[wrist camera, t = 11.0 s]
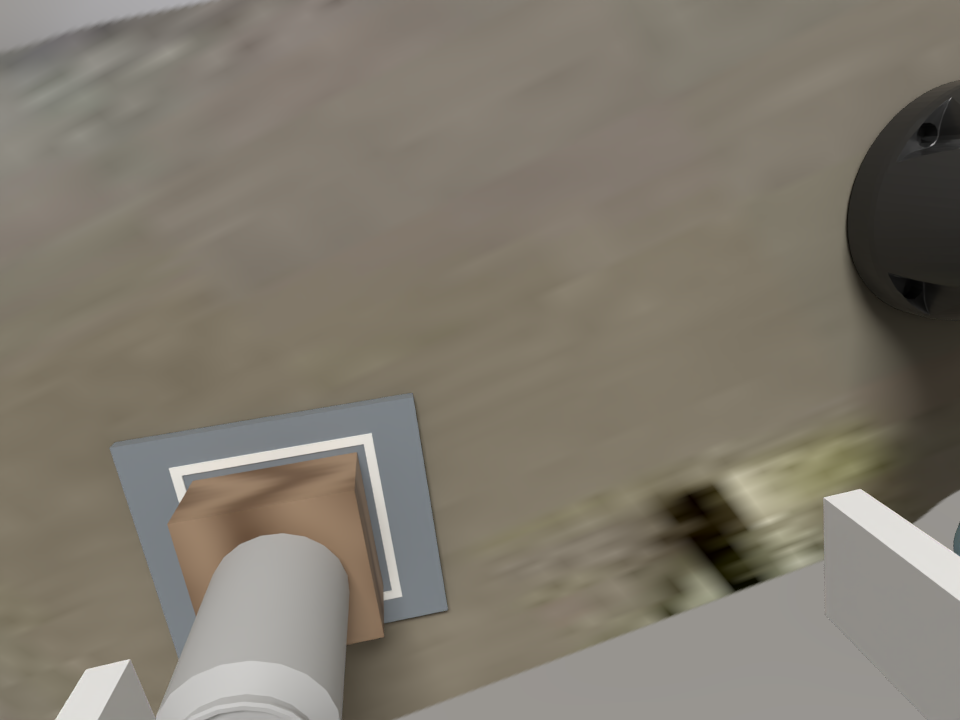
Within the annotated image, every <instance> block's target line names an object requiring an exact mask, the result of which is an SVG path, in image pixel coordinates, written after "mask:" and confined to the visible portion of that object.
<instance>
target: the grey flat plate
mask: <svg viewBox="0 0 960 720" xmlns="http://www.w3.org/2000/svg"><path fill="white" fill-rule="evenodd" d="M110 451H111V454H112V457H113V460H114V463H115V466H116V469H117V472H118V475H119V478H120V481H121V484H122V487H123V490H124V493H125V496H126V499H127V502H128V505H129V509H130V512H131V515H132V518H133V521H134V524H135V527H136V530H137V533H138V536H139V539H140V542H141V545H142V548H143V551H144V554H145V557H146V560H147V563H148V566H149V570H150V573H151V576H152V579H153V582H154V585H155V588H156V591H157V594H158V597H159V600H160V603H161V606H162V609H163V612H164V615H165V618H166V621H167V624H168V627H169V630H170V634H171V637H172V640H173V643H174V646H175V649H176V652H177V655H178V658H180V656H181V653H182V651H183V648H184V646H185V643H186V641H187V638H188V636H189V633H190V631H191V628H192V626H193V623H194V621H195V618H196V615H195V612H194V609H193V606H192V603H191V599H190V596H189V593H188V590H187V586H186V583H185V580H184V577H183V574H182V570H181V567H180V564H179V561H178V557H177V554H176V551H175V548H174V545H173V541H172V538H171V535H170V532H169V528H168V525H167V524H168V522H169V520H170V519H171V517H172V515H173V514H174V512H175V510H176V508H177V507H178V505H179V503H180V502H181V500H182V498H183V497H184V495H185V493H186V491H187V490H188V488H189V486H190V485H191V483H192V481H195V480H201V479H207V478H212V477H218V476H224V475H229V474H235V473H241V472H246V471H252V470H258V469H263V468H269V467H275V466H281V465H286V464H292V463H298V462H303V461H309V460H315V459H320V458H326V457H332V456H337V455H343V454H349V453H354V452H357V455H358V460H359V465H360V470H361V475H362V480H363V485H364V490H365V495H366V500H367V505H368V510H369V515H370V521H371V526H372V531H373V536H374V541H375V546H376V551H377V556H378V561H379V566H380V571H381V576H382V581H383V594H384V623H388V622H393V621H398V620H402V619H407V618H412V617H417V616H422V615H427V614H432V613H436V612H441V611H446V610H448V608H447V601H446V595H445V589H444V583H443V577H442V571H441V565H440V558H439V552H438V546H437V540H436V534H435V528H434V522H433V516H432V509H431V503H430V497H429V491H428V485H427V479H426V473H425V466H424V460H423V454H422V448H421V442H420V436H419V430H418V423H417V417H416V411H415V405H414V399H413V393H408V394H402V395H396V396H390V397H384V398H378V399H372V400H366V401H360V402H354V403H348V404H342V405H336V406H330V407H324V408H318V409H312V410H306V411H300V412H294V413H288V414H282V415H276V416H270V417H264V418H258V419H252V420H246V421H240V422H234V423H228V424H222V425H216V426H210V427H204V428H198V429H192V430H186V431H180V432H174V433H168V434H162V435H156V436H150V437H144V438H138V439H132V440H126V441H120V442H115V443H114V444H113V445H112V446H111V447H110Z"/></svg>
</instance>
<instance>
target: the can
mask: <svg viewBox="0 0 960 720" xmlns="http://www.w3.org/2000/svg"><path fill="white" fill-rule="evenodd" d="M349 594H350V592H349V584H348V575H347V573H346V571H345V570H344V568H343V566H342V564H341V562H340V560H339V559H338V558H337V557H336V556H335V555H334V554H333V553H332V552H331V551H330V550H329V549H328V548H326V547H325V546H324V545H322V544H320V543H318V542H316V541H313V540H311V539H309V538H307V537H305V536H298V535H292V534H285V533H280V534H272V535H263V536H259V537H256V538H254V539H251V540H249V541H247V542H244V543H242V544H240V545H238V546H237V547H236V548H235V549H233V550H232V551H231V552H230V553H229V554H227V555H226V556H225V557H224V558H223V559H222V561H221V562H220V564H219V566H218V567H217V569H216V570H215V572H214V574H213V576H212V578H211V581H210V583H209V586H208V588H207V591H206V593H205V596H204V598H203V601H202V603H201V606H200V608H199V611H198V613H197V616H196V618H195V621H194V623H193V626H192V628H191V631H190V633H189V636H188V638H187V641H186V643H185V646H184V648H183V651H182V653H181V656H180V658H179V661H178V663H177V666H176V668H175V671H174V673H173V676H172V678H171V681H170V683H169V686H168V688H167V691H166V693H165V696H164V698H163V701H162V703H161V706H160V708H159V711H158V713H157V716H156V720H342V707H343V691H344V675H345V659H346V643H347V626H348V610H349Z"/></svg>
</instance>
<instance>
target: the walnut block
mask: <svg viewBox="0 0 960 720" xmlns="http://www.w3.org/2000/svg"><path fill="white" fill-rule="evenodd" d="M167 525H168V528H169V532H170V535H171V538H172V541H173V545H174V548H175V551H176V554H177V557H178V561H179V564H180V567H181V570H182V574H183V577H184V580H185V583H186V586H187V590H188V593H189V596H190V599H191V603H192V606H193V609H194V612H195V615H196V616H197V613H198V611H199V608H200V606H201V603H202V601H203V598H204V596H205V593H206V591H207V588H208V586H209V583H210V581H211V578H212V576H213V574H214V572H215V570H216V569H217V567H218V566H219V564H220V562H221V561H222V559H223V558H224V557H225V556H226V555H227V554H229V553H230V552H231V551H232V550H233V549H235V548H236V547H237V546H238V545H240V544H242V543H244V542H247V541H249V540H251V539H254V538H256V537H259V536H263V535H272V534H280V533H285V534H292V535H298V536H305V537H307V538H309V539H311V540H313V541H316V542H318V543H320V544H322V545H324V546H325V547H326V548H328V549H329V550H330V551H331V552H332V553H333V554H334V555H335V556H336V557H337V558H338V559H339V560H340V562H341V564H342V566H343V568H344V570H345V571H346V573H347V575H348V584H349V592H350V594H349V610H348V626H347V643H346V645H349V644H354V643H358V642H363V641H368V640H373V639H377V638H382V637H384V594H383V581H382V576H381V571H380V566H379V561H378V556H377V551H376V546H375V541H374V536H373V531H372V526H371V521H370V515H369V510H368V505H367V500H366V495H365V490H364V485H363V480H362V475H361V470H360V465H359V460H358V455H357V452H354V453H349V454H343V455H337V456H332V457H326V458H320V459H315V460H309V461H303V462H298V463H292V464H286V465H281V466H275V467H269V468H263V469H258V470H252V471H246V472H241V473H235V474H229V475H224V476H218V477H212V478H207V479H201V480H195V481H192V483H191V485H190V486H189V488H188V490H187V491H186V493H185V495H184V497H183V498H182V500H181V502H180V503H179V505H178V507H177V508H176V510H175V512H174V514H173V515H172V517H171V519H170V520H169V522H168V524H167Z"/></svg>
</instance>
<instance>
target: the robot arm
mask: <svg viewBox="0 0 960 720" xmlns="http://www.w3.org/2000/svg"><path fill="white" fill-rule="evenodd" d="M848 237H849V245H850V250H851V254H852V258H853V261H854V263H855V266H856V268H857V271H858V273H859V275H860V276H861V278H862V280H863V281H864V283H865V284H866V285H867V287H868V288H869V289H870V290H871V291H872V292H873V293H874V294H875V295H876V296H877V297H878V298H879V299H881V300H882V301H883V302H885V303H886V304H888V305H890V306H892V307H894V308H896V309H899V310H902V311H905V312H908V313H912V314H916V315H919V316H923V317H927V318H931V319H938V320H949V321H958V320H960V80H958V81H954V82H950V83H947V84H944V85H941V86H939V87H936V88H934V89H932V90H930V91H928V92H926V93H924V94H923V95H921V96H920V97H918V98H916V99H915V100H914V101H912V102H911V103H910V104H908V105H907V106H906V107H905V108H903V109H902V110H901V111H900V112H899V113H898V114H897V115H896V116H895V117H894V118H893V119H892V120H891V121H890V122H889V123H888V124H887V125H886V127H885V128H884V129H883V130H882V132H881V133H880V134H879V136H878V137H877V138H876V140H875V141H874V143H873V144H872V146H871V148H870V149H869V151H868V153H867V155H866V157H865V159H864V161H863V163H862V165H861V167H860V170H859V172H858V175H857V177H856V180H855V183H854V187H853V190H852V195H851V199H850V205H849V213H848ZM953 546H954V552H952V551H951V550H950V549H948V548H946V547H945V546H944V545H942V544H941V543H939V542H938V541H936V540H935V539H934V538H932V537H930V536H929V535H927V534H926V533H925V532H923V531H922V530H920V529H919V528H917V527H916V526H914V525H913V524H911V523H910V522H909V521H907V520H906V519H904V518H903V517H901V516H900V515H898V514H897V513H895V512H894V511H892V510H891V509H889V508H888V507H887V506H885V505H884V504H882V503H881V502H879V501H878V500H876V499H875V498H873V497H872V496H870V495H869V494H867V493H866V492H864V491H863V490H862V489H858V490H854V491H850V492H845V493H841V494H837V495H833V496H828V497H824V575H825V576H824V578H825V615H826V616H827V617H828V618H829V619H830V620H831V622H832V623H834V625H835V626H836V627H837V628H838V629H839V630H840V631H841V632H842V633H843V634H844V635H845V636H846V637H847V638H848V639H849V640H850V641H851V642H852V643H853V644H854V645H855V646H856V647H857V648H858V649H859V650H860V651H861V652H862V653H863V654H864V655H865V656H866V658H867V659H868V660H869V661H870V662H871V663H872V664H873V665H874V666H875V667H876V668H877V669H878V670H879V671H880V672H881V673H882V674H883V675H884V676H885V677H886V678H887V679H888V680H889V681H890V682H891V683H892V684H893V685H894V686H895V687H896V688H897V689H898V690H899V691H900V692H901V693H902V695H903V696H904V697H905V698H906V699H907V700H908V701H909V702H910V703H911V704H912V705H913V706H914V707H915V708H916V709H917V710H918V711H919V712H920V713H921V714H922V715H923V716H924V717H925V718H926V719H927V720H960V523H959V526H958V528H957V531H956V533H955V538H954V545H953ZM55 720H156V719H155V716H154V714H153V712H152V709H151V707H150V704H149V702H148V700H147V697H146V695H145V693H144V690H143V688H142V686H141V683H140V681H139V679H138V676H137V674H136V671H135V669H134V667H133V664H132V662H131V660H130V659H129V660H125V661H120V662H116V663H112V664H107V665H103V666H99V667H95V668H90V669H86V671H85V672H84V674H83V675H82V677H81V679H80V680H79V682H78V684H77V685H76V687H75V688H74V690H73V692H72V693H71V695H70V697H69V698H68V700H67V701H66V703H65V705H64V706H63V708H62V710H61V711H60V713H59V714H58V716H57V718H56V719H55Z"/></svg>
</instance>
